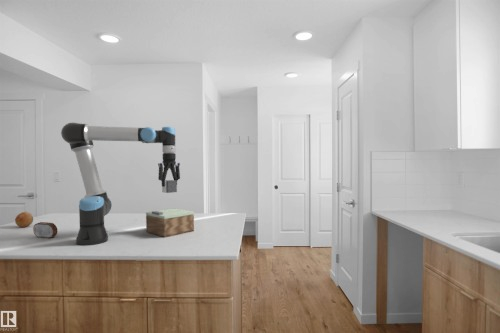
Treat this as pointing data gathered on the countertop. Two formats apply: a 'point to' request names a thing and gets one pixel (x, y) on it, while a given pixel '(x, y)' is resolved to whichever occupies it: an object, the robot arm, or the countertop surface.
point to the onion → (24, 219)
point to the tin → (45, 230)
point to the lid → (169, 213)
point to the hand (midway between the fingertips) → (169, 191)
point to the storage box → (169, 225)
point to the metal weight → (171, 186)
